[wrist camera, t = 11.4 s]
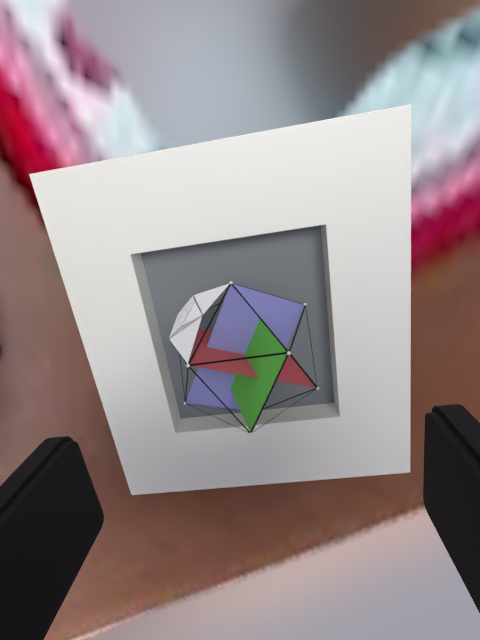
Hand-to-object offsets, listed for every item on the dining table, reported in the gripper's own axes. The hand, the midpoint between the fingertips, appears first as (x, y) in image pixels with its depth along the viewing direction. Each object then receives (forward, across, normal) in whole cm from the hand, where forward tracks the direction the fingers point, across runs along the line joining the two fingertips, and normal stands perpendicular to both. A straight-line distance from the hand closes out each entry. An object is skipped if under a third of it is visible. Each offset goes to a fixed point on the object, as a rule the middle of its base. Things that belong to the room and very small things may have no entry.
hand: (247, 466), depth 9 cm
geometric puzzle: (+12, +1, 0) cm, 12 cm away
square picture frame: (+12, +1, 0) cm, 12 cm away
